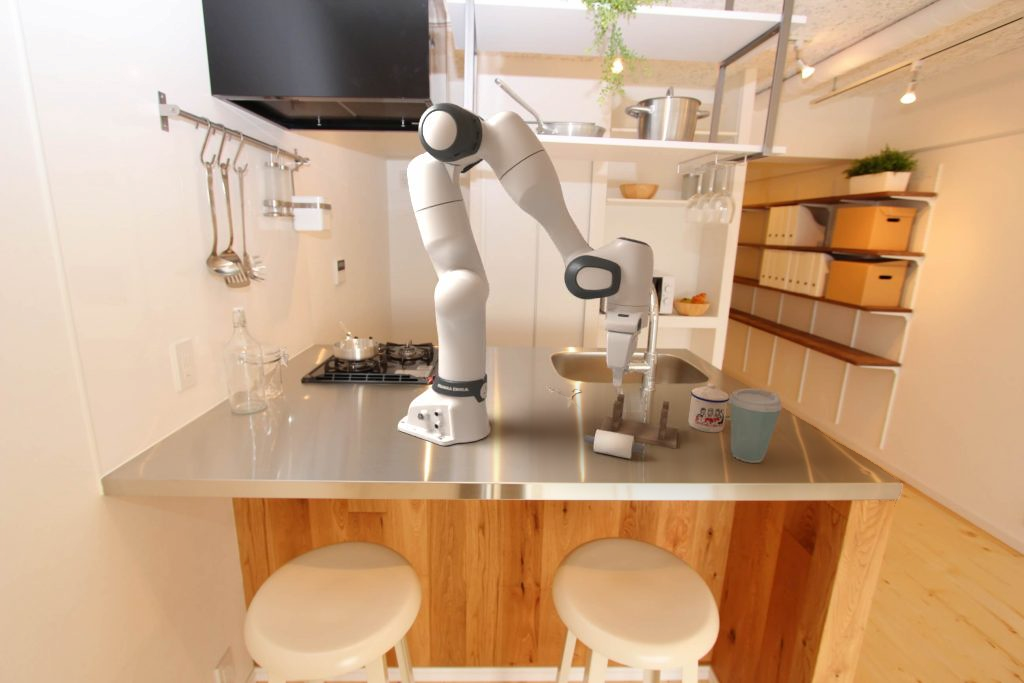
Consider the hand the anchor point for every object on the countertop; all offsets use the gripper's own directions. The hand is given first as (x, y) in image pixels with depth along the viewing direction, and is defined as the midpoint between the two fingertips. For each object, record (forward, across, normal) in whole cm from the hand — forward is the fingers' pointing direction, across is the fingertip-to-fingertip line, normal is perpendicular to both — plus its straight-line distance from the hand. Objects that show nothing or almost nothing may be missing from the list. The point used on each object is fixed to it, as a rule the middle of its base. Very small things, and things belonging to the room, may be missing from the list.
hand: (620, 379), depth 104 cm
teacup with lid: (+18, -26, +21) cm, 38 cm away
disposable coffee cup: (+18, -11, +28) cm, 35 cm away
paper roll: (+15, +1, 0) cm, 15 cm away
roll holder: (+17, -13, +4) cm, 22 cm away
